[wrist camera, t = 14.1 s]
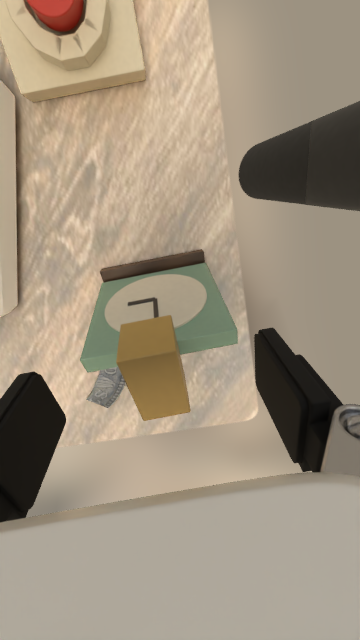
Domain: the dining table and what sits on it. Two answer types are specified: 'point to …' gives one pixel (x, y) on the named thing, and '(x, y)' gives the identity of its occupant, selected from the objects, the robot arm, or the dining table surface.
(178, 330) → the clock
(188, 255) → the clock foot
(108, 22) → the alarm block
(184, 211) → the dining table surface
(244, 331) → the dining table surface
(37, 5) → the alarm button
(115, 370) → the coin fragment
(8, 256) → the crystal
